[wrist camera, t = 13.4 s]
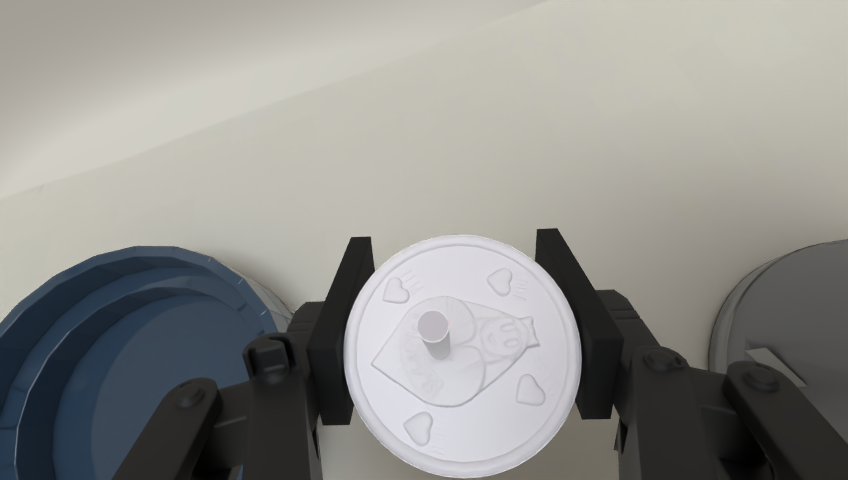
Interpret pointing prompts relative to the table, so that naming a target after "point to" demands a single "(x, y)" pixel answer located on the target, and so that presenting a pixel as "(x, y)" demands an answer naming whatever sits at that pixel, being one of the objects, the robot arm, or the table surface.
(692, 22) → the table surface
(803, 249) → the robot arm
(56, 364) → the bowl
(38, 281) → the table surface
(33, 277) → the table surface
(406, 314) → the smoothie
